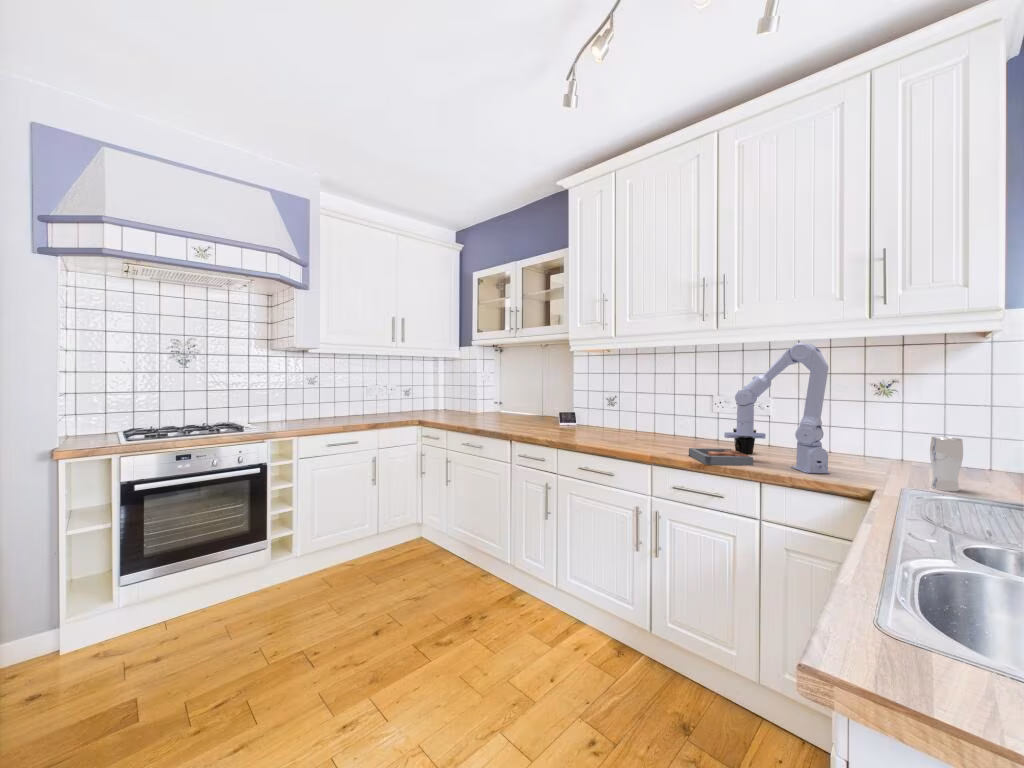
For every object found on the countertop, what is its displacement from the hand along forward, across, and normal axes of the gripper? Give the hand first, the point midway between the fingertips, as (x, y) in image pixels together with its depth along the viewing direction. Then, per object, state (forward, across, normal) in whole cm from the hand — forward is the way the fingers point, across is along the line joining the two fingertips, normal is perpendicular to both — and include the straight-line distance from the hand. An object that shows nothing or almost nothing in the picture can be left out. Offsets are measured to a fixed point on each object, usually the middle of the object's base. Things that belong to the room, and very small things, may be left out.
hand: (744, 457), depth 170 cm
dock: (+1, +9, 0) cm, 9 cm away
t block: (+1, +7, 0) cm, 7 cm away
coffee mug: (+2, -9, -18) cm, 20 cm away
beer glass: (+2, -40, +38) cm, 55 cm away
